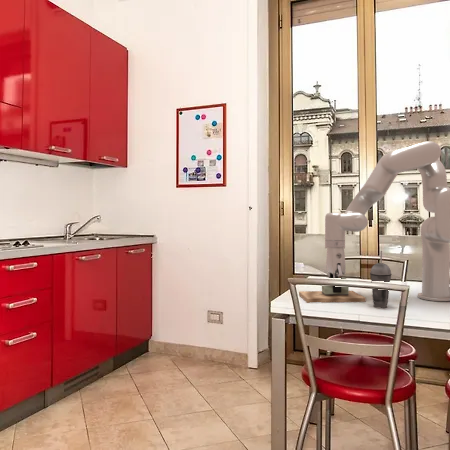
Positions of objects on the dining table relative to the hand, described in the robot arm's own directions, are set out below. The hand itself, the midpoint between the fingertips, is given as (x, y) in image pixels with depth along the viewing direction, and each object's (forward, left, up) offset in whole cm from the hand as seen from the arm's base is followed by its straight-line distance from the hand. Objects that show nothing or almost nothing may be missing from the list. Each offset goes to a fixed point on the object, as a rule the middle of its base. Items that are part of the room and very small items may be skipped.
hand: (334, 290), depth 164 cm
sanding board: (+1, 0, -3) cm, 3 cm away
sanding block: (0, 0, -1) cm, 1 cm away
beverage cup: (-12, +15, -3) cm, 19 cm away
